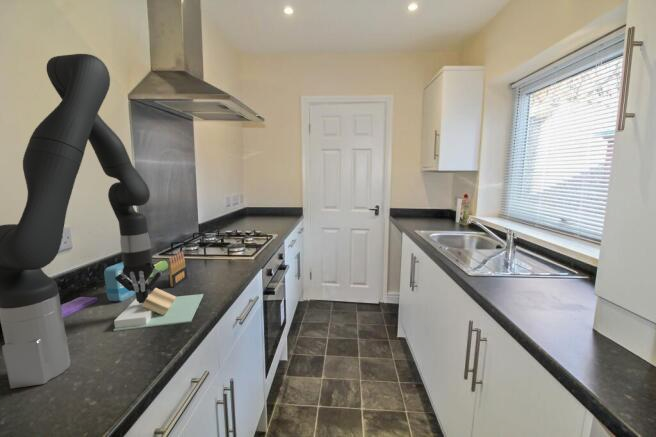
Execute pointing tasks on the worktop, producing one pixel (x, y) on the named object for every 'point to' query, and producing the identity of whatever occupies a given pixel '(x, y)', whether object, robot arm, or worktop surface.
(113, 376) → the worktop surface
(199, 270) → the worktop surface
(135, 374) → the worktop surface
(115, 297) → the data package
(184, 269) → the ammunition clip
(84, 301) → the sponges
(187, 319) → the mat
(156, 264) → the edible corn
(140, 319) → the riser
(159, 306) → the coaster
